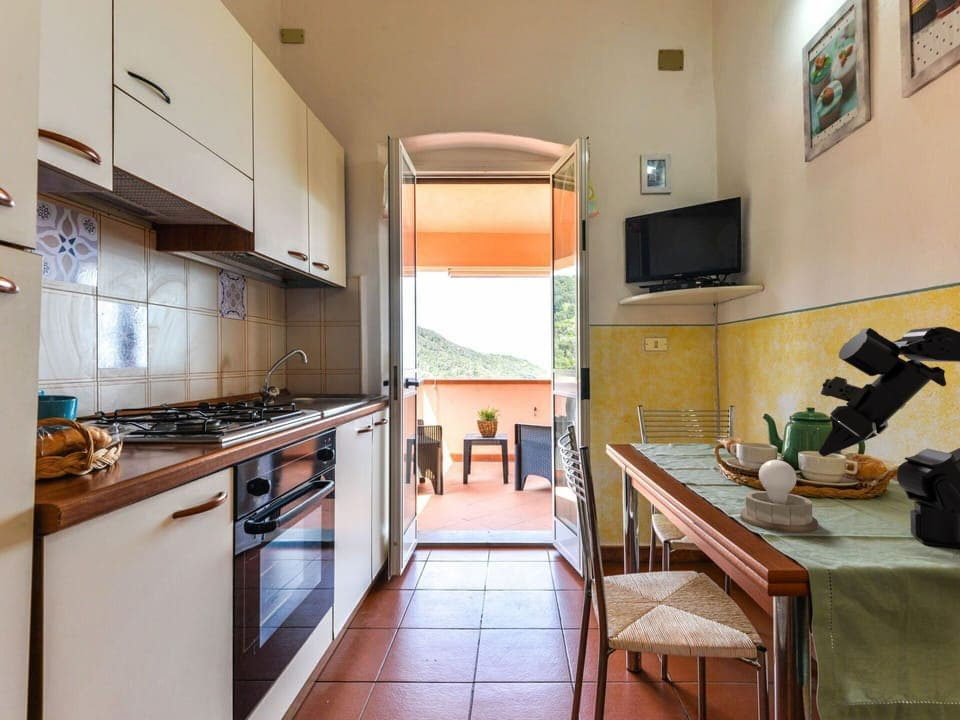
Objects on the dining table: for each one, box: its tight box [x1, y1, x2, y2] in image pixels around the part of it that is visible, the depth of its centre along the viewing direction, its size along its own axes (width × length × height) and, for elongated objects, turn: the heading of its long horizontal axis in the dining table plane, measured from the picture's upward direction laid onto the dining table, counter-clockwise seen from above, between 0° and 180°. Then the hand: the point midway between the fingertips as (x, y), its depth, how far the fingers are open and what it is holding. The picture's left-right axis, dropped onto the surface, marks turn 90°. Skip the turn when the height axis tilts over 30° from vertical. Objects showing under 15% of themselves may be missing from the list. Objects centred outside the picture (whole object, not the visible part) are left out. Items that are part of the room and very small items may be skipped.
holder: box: [740, 490, 819, 533], centre depth 98 cm, size 13×13×4 cm
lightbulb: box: [758, 459, 797, 505], centre depth 98 cm, size 6×6×11 cm
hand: (826, 452), depth 94 cm, fingers open, 9 cm apart
